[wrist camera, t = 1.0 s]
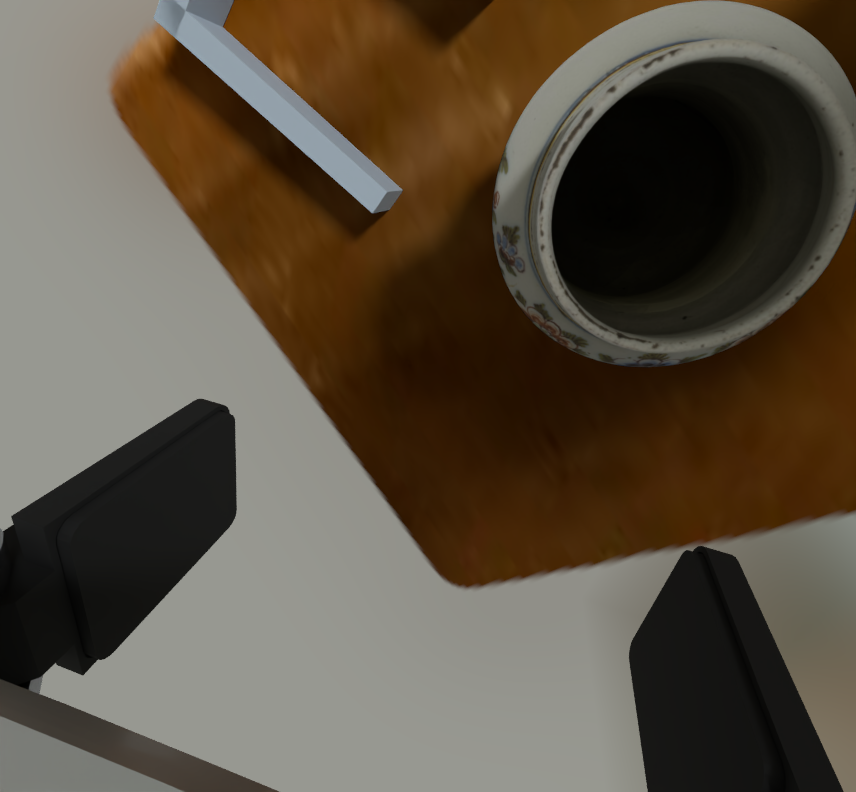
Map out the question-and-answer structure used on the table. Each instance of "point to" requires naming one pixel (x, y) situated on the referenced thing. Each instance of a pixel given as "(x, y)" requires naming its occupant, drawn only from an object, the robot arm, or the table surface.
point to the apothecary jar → (677, 184)
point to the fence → (274, 99)
